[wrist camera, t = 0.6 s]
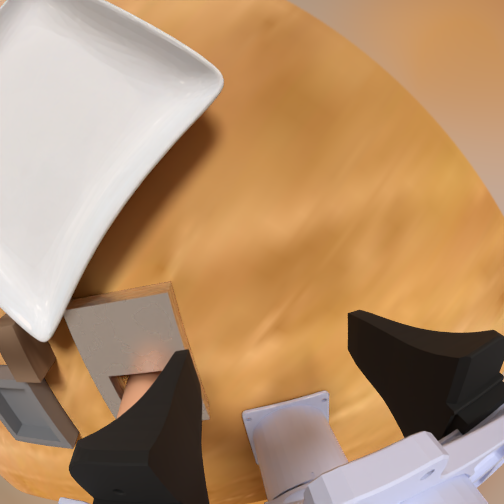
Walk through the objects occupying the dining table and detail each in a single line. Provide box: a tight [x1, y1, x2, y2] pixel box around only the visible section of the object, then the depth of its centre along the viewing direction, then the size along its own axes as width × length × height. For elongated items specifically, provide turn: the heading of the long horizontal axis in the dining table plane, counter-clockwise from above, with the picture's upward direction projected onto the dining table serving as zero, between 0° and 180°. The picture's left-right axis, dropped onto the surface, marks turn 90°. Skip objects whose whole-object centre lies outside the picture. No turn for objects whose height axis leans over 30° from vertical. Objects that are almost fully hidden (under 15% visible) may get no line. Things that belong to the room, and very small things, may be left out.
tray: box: [0, 365, 79, 449], centre depth 19 cm, size 9×9×2 cm
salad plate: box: [0, 0, 224, 342], centre depth 13 cm, size 21×21×3 cm
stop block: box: [0, 313, 56, 383], centre depth 17 cm, size 5×3×4 cm, turn 9°
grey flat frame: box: [64, 281, 210, 420], centre depth 19 cm, size 12×8×2 cm
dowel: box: [116, 371, 162, 419], centre depth 18 cm, size 4×4×7 cm
